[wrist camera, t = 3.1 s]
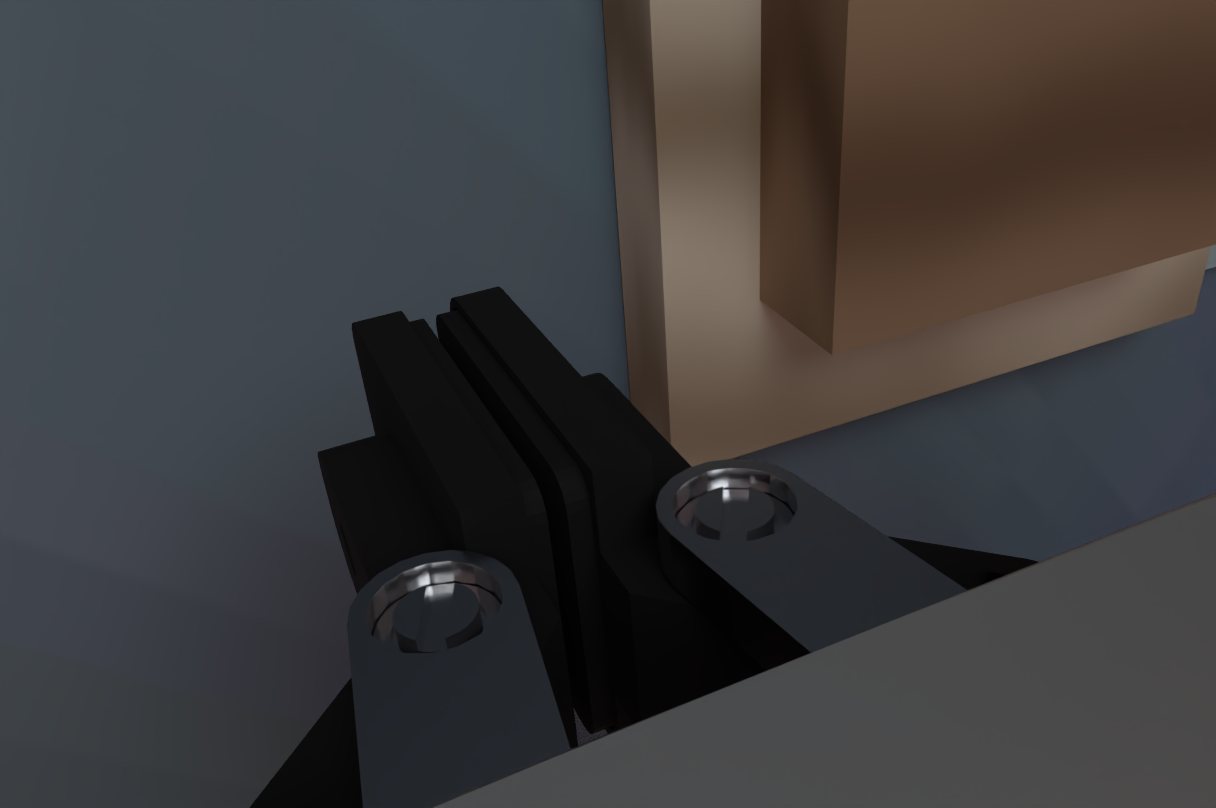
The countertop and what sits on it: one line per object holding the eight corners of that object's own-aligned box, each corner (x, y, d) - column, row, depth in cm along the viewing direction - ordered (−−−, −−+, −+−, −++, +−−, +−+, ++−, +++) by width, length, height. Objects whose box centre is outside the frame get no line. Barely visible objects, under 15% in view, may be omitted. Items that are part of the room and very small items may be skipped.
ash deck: (577, -355, 16) (631, -369, 14) (1270, -395, 20) (1372, -409, 18) (632, 429, 23) (672, 477, 22) (1130, 282, 27) (1194, 313, 26)
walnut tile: (761, -102, 17) (851, -85, 15) (1196, -163, 19) (1323, -156, 17) (759, 299, 20) (832, 355, 18) (1124, 202, 23) (1222, 242, 21)
